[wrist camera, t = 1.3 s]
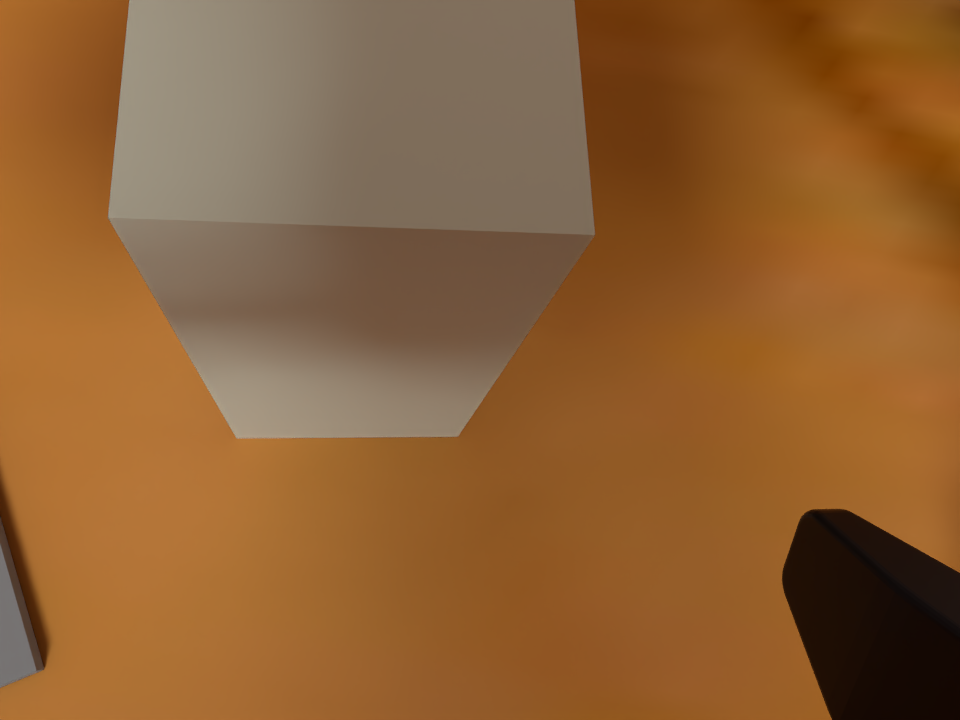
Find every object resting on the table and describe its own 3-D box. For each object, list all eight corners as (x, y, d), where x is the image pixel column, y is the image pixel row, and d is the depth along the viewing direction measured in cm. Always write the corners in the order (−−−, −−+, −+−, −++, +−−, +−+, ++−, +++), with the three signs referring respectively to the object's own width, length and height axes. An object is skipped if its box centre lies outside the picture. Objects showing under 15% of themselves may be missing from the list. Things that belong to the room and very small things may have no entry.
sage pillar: (457, 436, 21) (595, 234, 10) (236, 438, 20) (108, 217, 9) (451, 241, 23) (563, -128, 11) (246, 234, 22) (146, -173, 11)
